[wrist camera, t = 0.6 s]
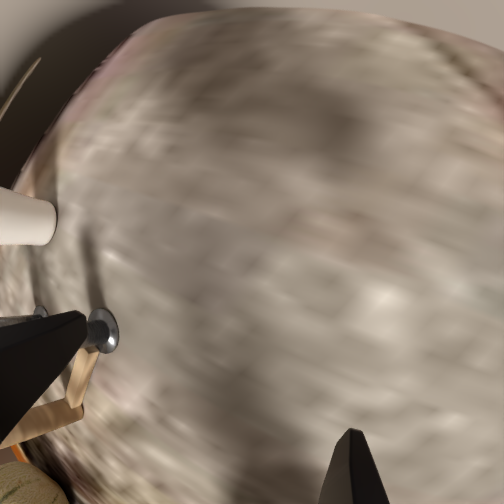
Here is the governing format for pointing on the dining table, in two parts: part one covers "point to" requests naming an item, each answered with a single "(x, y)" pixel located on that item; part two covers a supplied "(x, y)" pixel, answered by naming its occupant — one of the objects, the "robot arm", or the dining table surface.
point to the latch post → (24, 317)
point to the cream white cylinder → (25, 219)
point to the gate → (57, 404)
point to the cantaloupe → (28, 485)
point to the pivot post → (102, 331)
